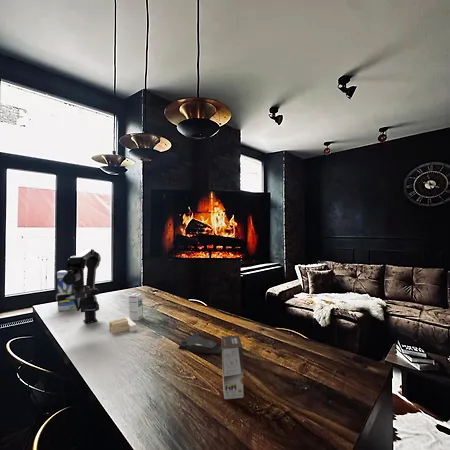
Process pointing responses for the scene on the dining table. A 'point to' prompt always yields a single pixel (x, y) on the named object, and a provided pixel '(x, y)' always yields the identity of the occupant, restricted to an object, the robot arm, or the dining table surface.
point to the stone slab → (200, 345)
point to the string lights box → (64, 289)
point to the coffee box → (232, 367)
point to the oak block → (118, 325)
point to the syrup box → (135, 306)
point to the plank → (131, 325)
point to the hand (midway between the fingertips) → (78, 310)
